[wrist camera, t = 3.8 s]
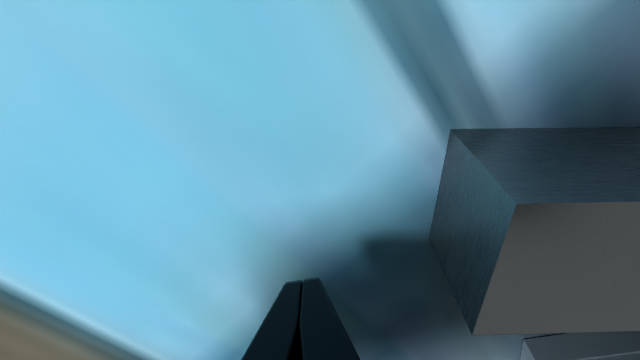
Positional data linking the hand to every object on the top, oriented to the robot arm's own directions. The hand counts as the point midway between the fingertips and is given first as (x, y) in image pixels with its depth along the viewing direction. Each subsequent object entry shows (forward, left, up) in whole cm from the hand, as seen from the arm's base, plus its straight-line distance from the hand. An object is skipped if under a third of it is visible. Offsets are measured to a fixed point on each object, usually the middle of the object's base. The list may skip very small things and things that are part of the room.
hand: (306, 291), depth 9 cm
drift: (+7, -5, -2) cm, 9 cm away
